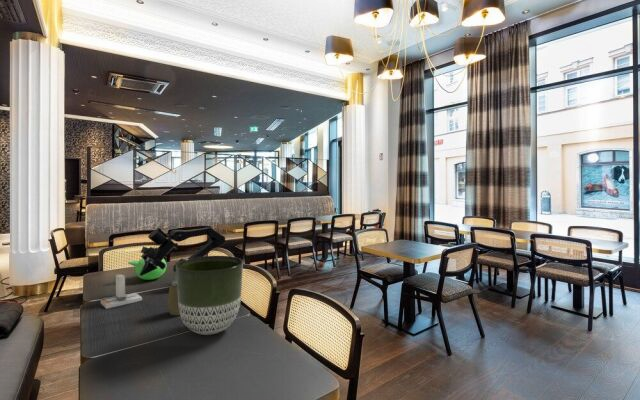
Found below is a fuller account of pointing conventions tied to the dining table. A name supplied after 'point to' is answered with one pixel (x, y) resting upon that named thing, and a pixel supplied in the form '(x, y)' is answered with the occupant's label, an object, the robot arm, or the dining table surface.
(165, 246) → the robot arm
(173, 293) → the squeeze bottle
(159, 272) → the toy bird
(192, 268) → the planter
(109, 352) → the dining table surface
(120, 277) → the handle
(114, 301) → the fader deck
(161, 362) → the dining table surface
